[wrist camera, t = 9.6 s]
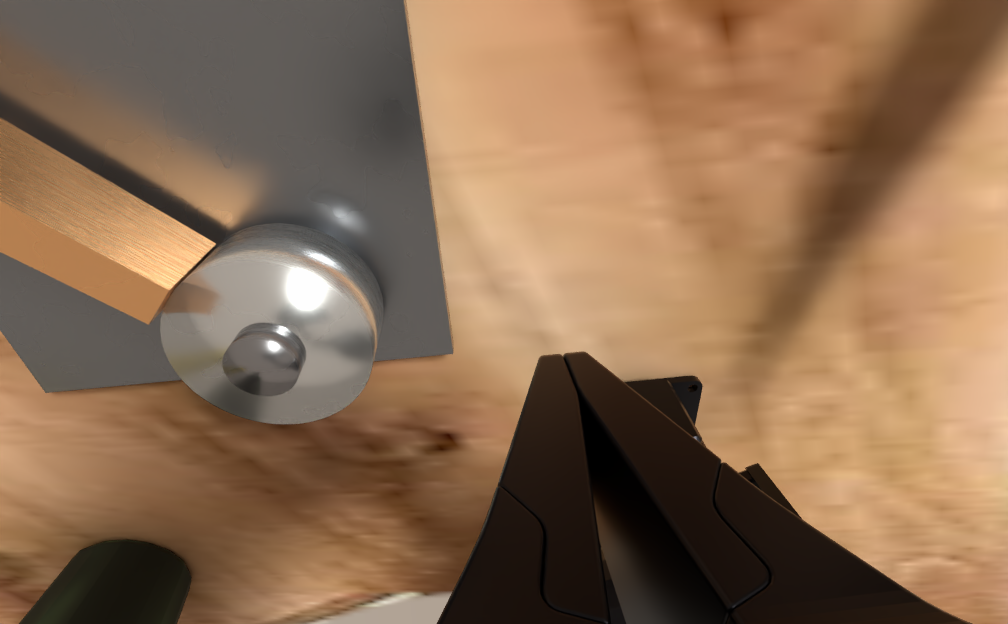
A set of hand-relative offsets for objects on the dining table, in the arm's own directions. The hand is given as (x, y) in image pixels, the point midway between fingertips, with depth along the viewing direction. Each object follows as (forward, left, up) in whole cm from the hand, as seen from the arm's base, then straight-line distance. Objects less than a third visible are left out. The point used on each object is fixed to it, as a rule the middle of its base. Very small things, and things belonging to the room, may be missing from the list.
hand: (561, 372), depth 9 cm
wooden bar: (0, +13, -11) cm, 17 cm away
